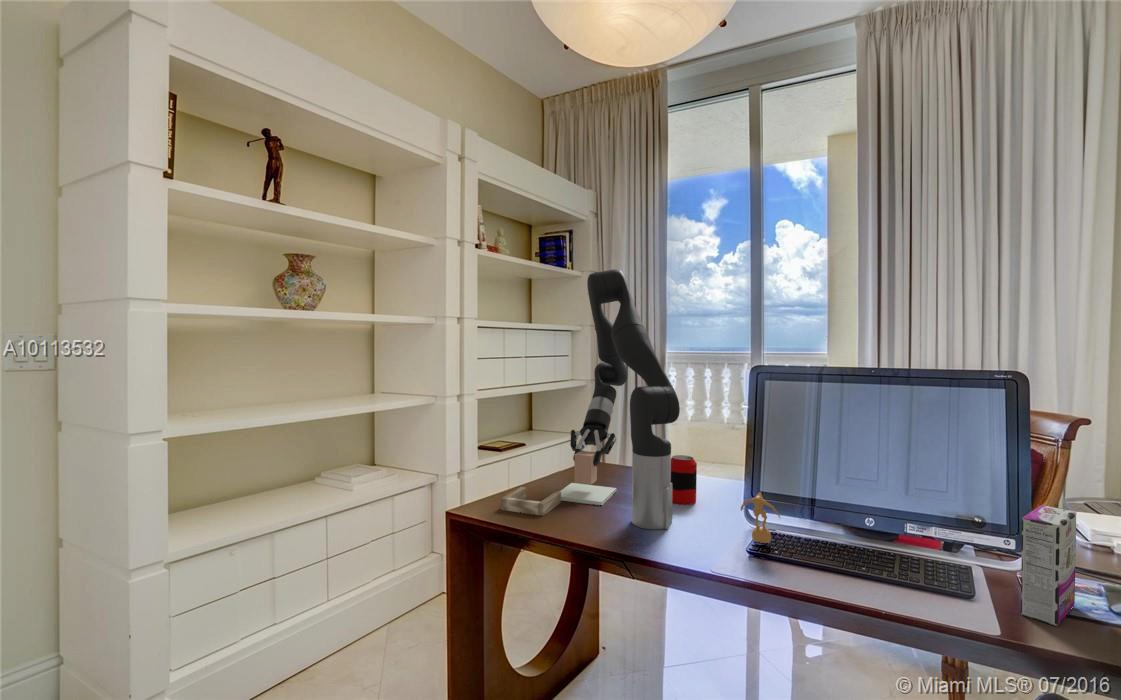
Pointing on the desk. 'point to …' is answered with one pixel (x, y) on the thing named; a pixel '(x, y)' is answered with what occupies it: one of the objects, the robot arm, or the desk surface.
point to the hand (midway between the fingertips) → (585, 463)
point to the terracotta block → (585, 468)
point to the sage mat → (587, 493)
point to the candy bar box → (1048, 564)
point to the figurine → (759, 532)
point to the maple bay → (529, 502)
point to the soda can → (683, 479)
